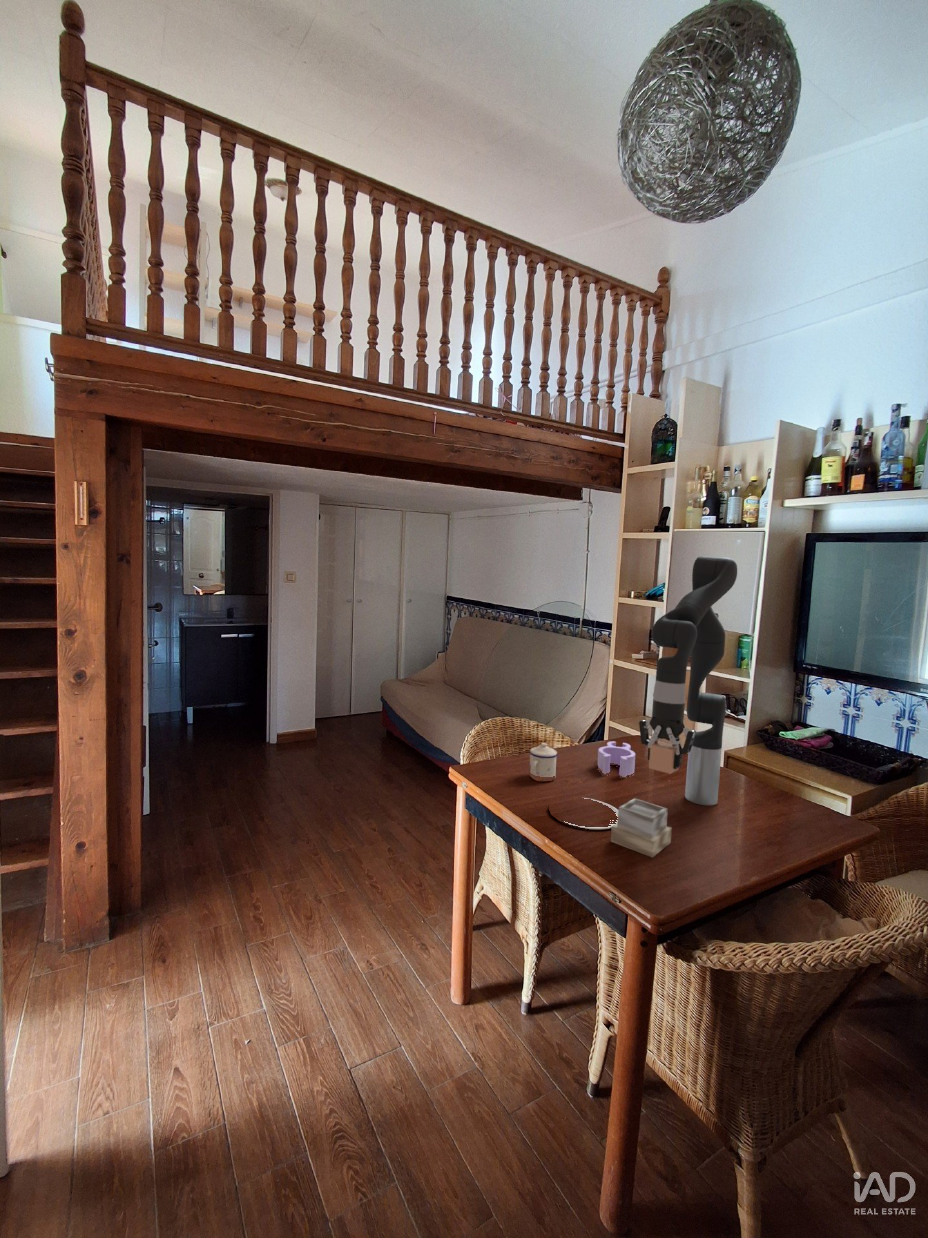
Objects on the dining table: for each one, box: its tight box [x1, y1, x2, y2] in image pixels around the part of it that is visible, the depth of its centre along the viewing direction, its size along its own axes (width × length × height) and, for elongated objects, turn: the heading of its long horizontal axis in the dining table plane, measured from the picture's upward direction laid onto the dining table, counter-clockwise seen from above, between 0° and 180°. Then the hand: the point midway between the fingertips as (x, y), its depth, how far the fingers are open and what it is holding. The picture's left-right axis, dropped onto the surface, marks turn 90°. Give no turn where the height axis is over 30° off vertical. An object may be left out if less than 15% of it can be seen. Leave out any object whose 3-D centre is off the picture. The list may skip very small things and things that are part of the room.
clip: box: [597, 741, 636, 778], centre depth 197 cm, size 20×12×7 cm, turn 160°
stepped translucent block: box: [610, 797, 673, 859], centre depth 142 cm, size 11×11×9 cm
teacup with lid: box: [528, 742, 558, 777], centre depth 183 cm, size 12×9×12 cm
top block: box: [648, 740, 680, 775], centre depth 141 cm, size 6×6×6 cm
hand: (663, 765), depth 141 cm, fingers closed on top block, 5 cm apart
